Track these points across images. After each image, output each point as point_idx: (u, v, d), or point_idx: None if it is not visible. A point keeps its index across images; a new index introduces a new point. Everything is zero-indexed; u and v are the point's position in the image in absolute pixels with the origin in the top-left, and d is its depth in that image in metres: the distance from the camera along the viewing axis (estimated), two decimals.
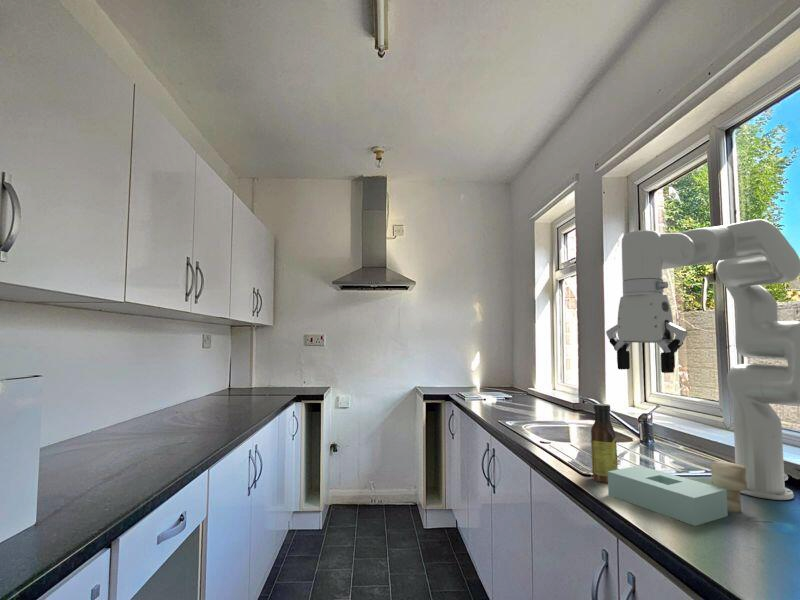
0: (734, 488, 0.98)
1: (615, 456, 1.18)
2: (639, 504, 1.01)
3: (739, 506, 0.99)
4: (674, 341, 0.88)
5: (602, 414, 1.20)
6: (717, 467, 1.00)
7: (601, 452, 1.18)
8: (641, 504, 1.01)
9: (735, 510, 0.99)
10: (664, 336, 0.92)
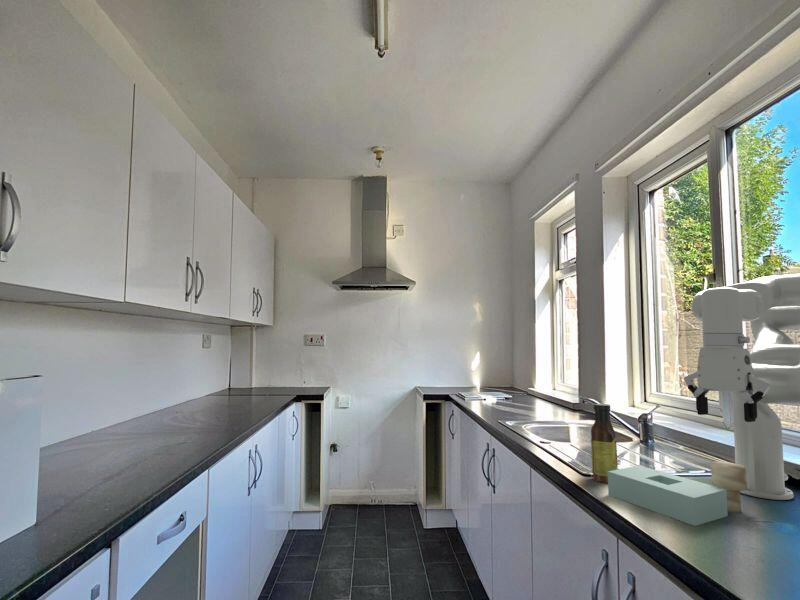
0: (734, 488, 0.98)
1: (615, 456, 1.18)
2: (639, 504, 1.01)
3: (739, 506, 0.99)
4: (758, 393, 0.96)
5: (602, 414, 1.20)
6: (717, 467, 1.00)
7: (601, 452, 1.18)
8: (641, 504, 1.01)
9: (735, 510, 0.99)
10: (745, 387, 1.00)
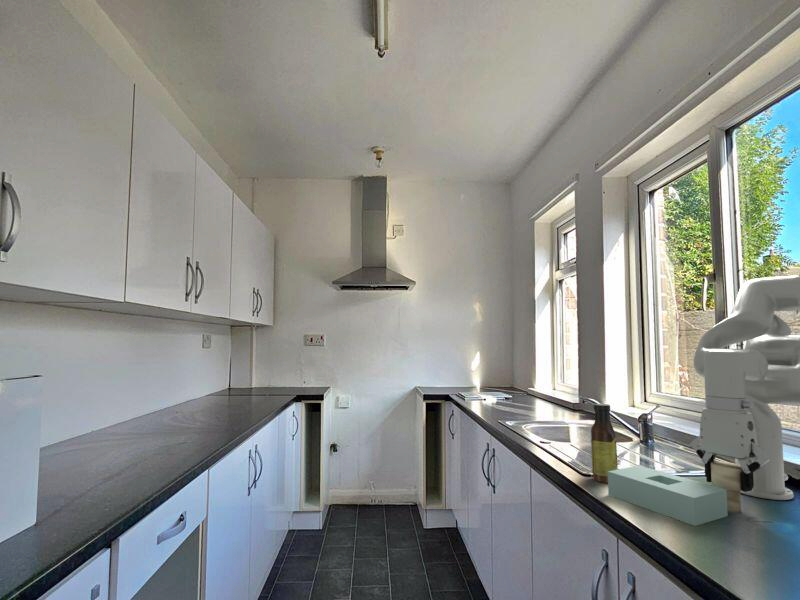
0: (734, 488, 0.98)
1: (615, 456, 1.18)
2: (639, 504, 1.01)
3: (739, 506, 0.99)
4: (754, 464, 0.96)
5: (602, 414, 1.20)
6: (717, 467, 1.00)
7: (601, 452, 1.18)
8: (641, 504, 1.01)
9: (735, 510, 0.99)
10: None
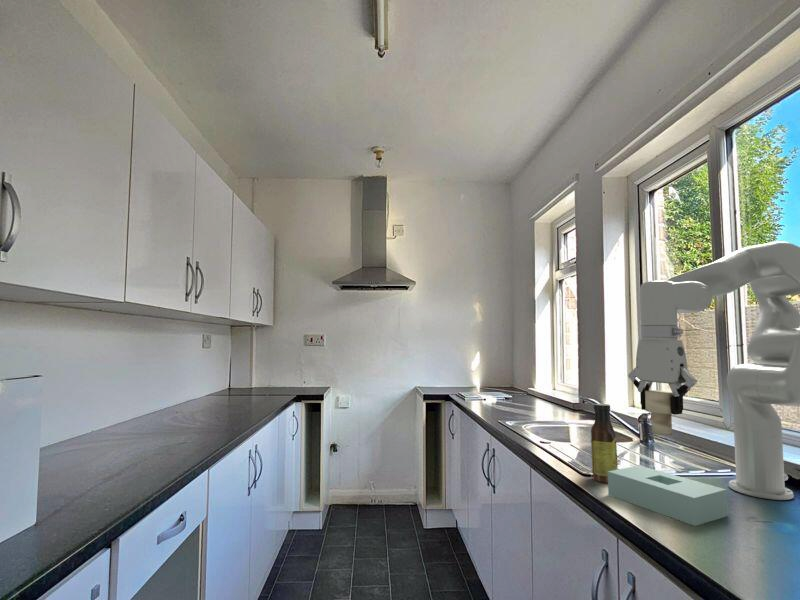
0: (664, 411, 1.01)
1: (615, 456, 1.18)
2: (639, 504, 1.01)
3: (670, 429, 1.02)
4: (683, 387, 0.99)
5: (602, 414, 1.20)
6: (649, 393, 1.04)
7: (601, 452, 1.18)
8: (641, 504, 1.01)
9: (666, 433, 1.02)
10: None
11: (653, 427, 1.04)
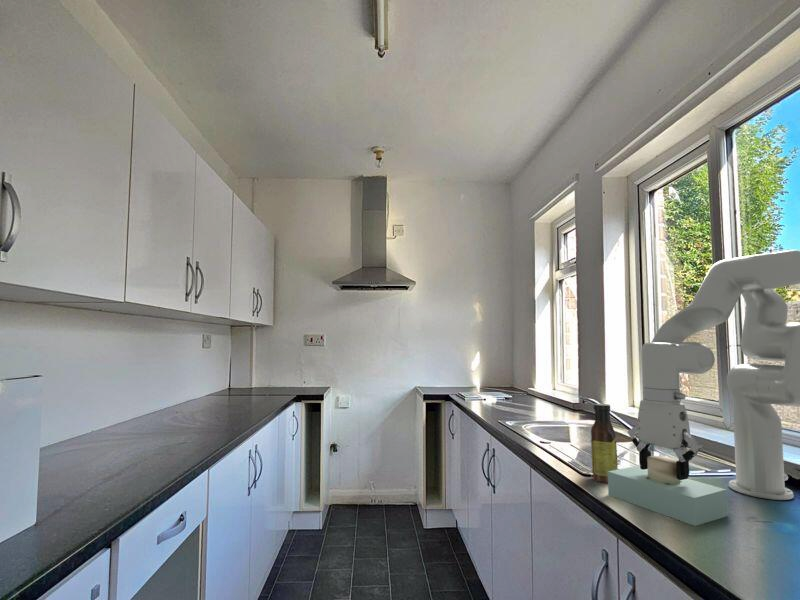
0: (667, 482, 1.00)
1: (615, 456, 1.18)
2: (639, 504, 1.01)
3: None
4: (689, 452, 0.98)
5: (602, 414, 1.20)
6: (652, 461, 1.02)
7: (601, 452, 1.18)
8: (641, 504, 1.01)
9: None
10: (680, 443, 1.01)
11: None
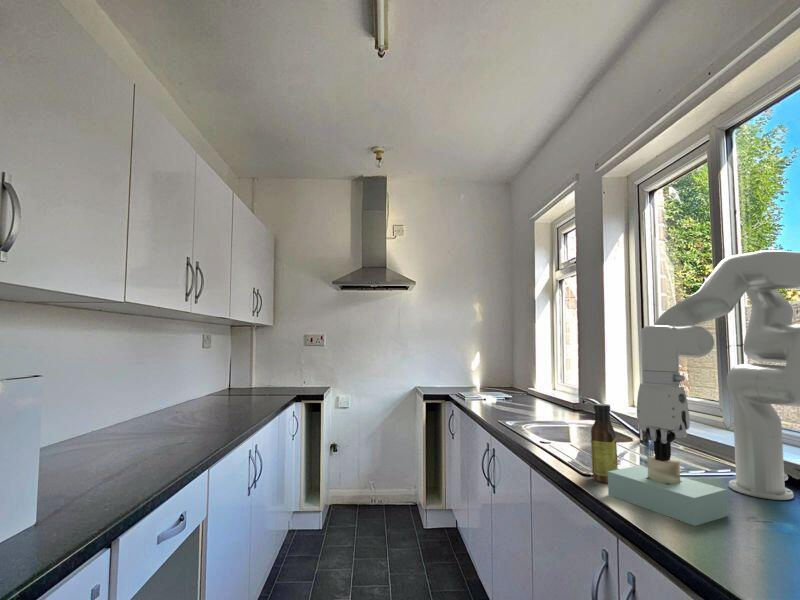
0: (667, 482, 1.00)
1: (615, 456, 1.18)
2: (639, 504, 1.01)
3: None
4: (670, 434, 1.01)
5: (602, 414, 1.20)
6: (652, 461, 1.02)
7: (601, 452, 1.18)
8: (641, 504, 1.01)
9: None
10: None
11: None
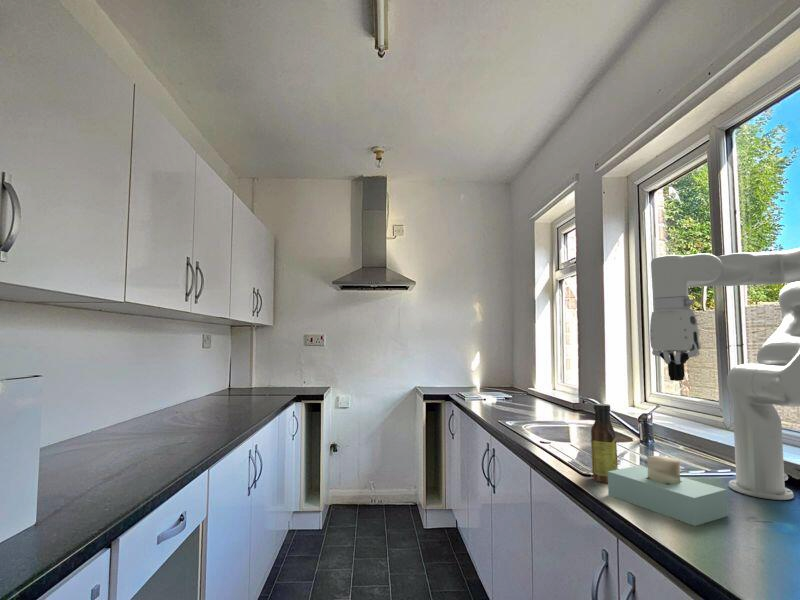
0: (667, 482, 1.00)
1: (615, 456, 1.18)
2: (639, 504, 1.01)
3: None
4: (683, 355, 1.08)
5: (602, 414, 1.20)
6: (652, 461, 1.02)
7: (601, 452, 1.18)
8: (641, 504, 1.01)
9: None
10: None
11: None
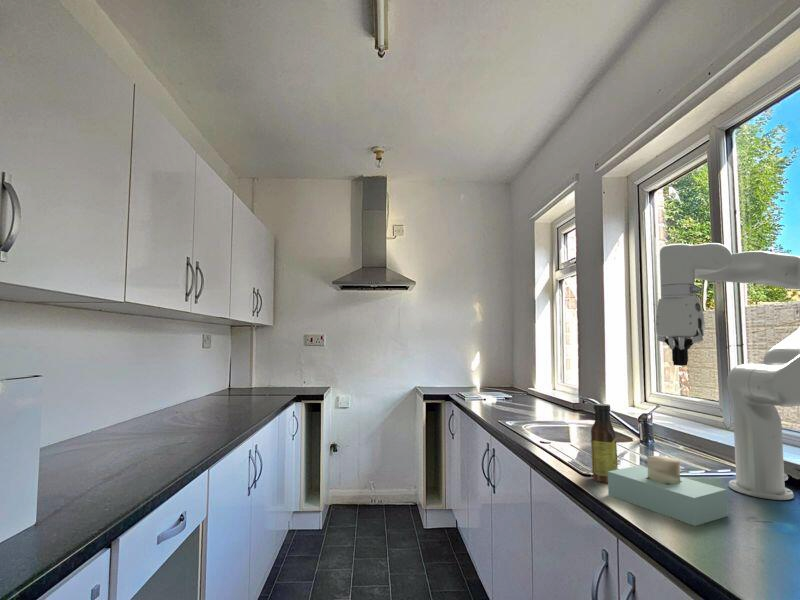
0: (667, 482, 1.00)
1: (615, 456, 1.18)
2: (639, 504, 1.01)
3: None
4: (687, 340, 1.12)
5: (602, 414, 1.20)
6: (652, 461, 1.02)
7: (601, 452, 1.18)
8: (641, 504, 1.01)
9: None
10: None
11: None
